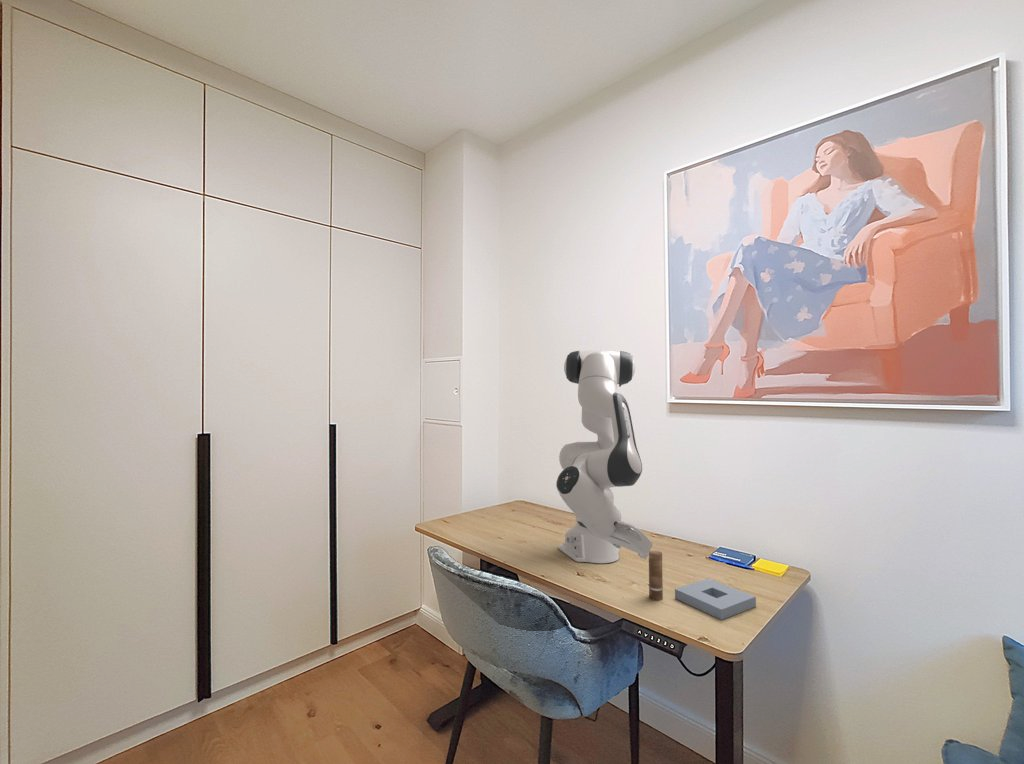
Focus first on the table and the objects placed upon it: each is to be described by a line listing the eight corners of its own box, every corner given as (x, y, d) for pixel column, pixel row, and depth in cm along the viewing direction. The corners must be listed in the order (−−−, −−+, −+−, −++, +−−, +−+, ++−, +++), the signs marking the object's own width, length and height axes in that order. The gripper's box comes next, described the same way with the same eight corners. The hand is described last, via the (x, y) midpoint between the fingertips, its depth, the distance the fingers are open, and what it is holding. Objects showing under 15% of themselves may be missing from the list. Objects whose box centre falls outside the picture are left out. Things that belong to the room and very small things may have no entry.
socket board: (675, 598, 124) (674, 588, 124) (708, 587, 131) (708, 578, 132) (721, 619, 112) (721, 609, 112) (755, 606, 119) (755, 596, 119)
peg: (646, 596, 126) (645, 551, 126) (655, 593, 127) (654, 549, 128) (656, 601, 123) (655, 555, 123) (665, 598, 124) (665, 553, 125)
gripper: (639, 517, 109) (669, 552, 113) (584, 500, 126) (611, 531, 131) (625, 539, 106) (656, 574, 111) (571, 519, 124) (599, 550, 129)
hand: (631, 550), depth 121 cm, fingers open, 8 cm apart
